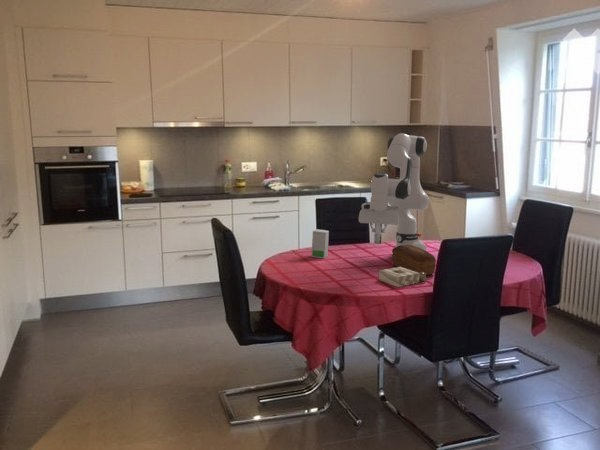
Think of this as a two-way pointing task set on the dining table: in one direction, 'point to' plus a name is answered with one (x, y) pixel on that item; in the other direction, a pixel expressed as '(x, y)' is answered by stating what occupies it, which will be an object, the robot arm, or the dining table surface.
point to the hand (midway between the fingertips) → (378, 232)
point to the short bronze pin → (422, 277)
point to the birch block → (398, 276)
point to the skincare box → (320, 243)
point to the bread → (413, 259)
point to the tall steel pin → (378, 233)
